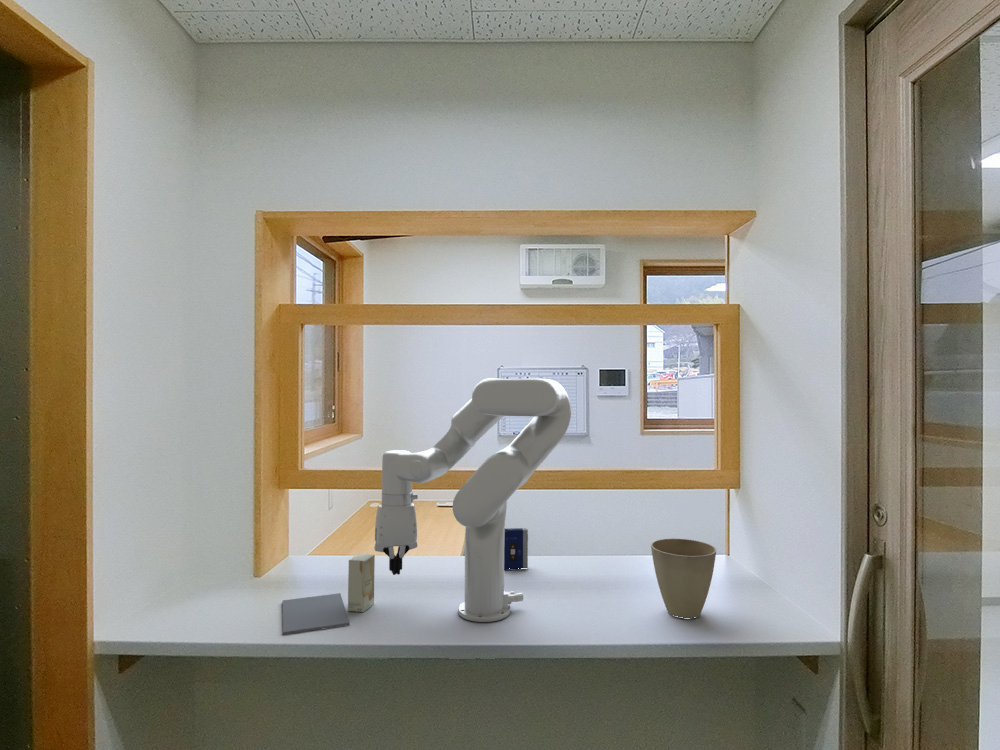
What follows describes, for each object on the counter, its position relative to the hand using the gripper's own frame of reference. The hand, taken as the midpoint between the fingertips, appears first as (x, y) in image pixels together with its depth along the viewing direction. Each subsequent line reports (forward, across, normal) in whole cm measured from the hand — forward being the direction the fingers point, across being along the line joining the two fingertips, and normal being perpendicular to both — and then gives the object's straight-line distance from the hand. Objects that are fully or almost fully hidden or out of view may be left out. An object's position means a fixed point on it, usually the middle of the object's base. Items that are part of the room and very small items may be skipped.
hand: (395, 572), depth 142 cm
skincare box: (+8, +8, 0) cm, 11 cm away
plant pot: (+7, -63, +32) cm, 71 cm away
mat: (+8, +19, 0) cm, 21 cm away
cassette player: (+7, -39, -14) cm, 42 cm away
